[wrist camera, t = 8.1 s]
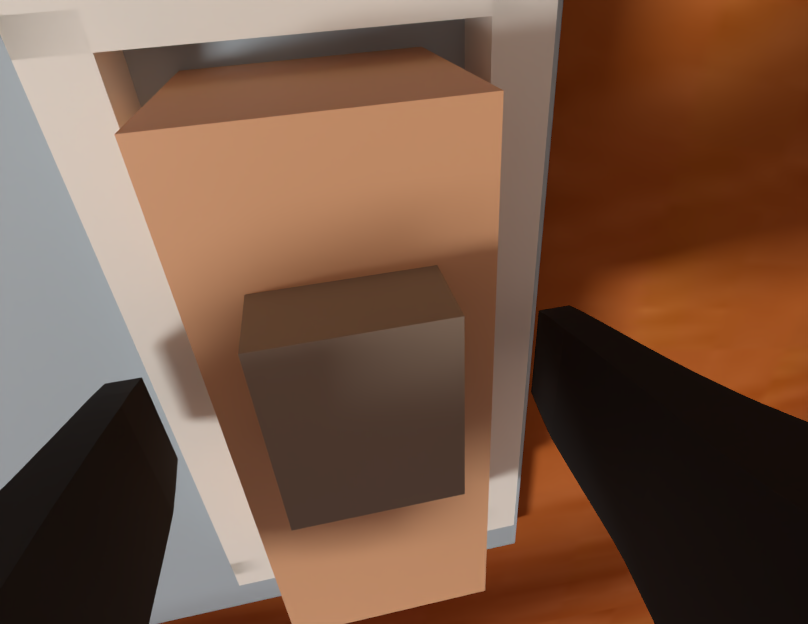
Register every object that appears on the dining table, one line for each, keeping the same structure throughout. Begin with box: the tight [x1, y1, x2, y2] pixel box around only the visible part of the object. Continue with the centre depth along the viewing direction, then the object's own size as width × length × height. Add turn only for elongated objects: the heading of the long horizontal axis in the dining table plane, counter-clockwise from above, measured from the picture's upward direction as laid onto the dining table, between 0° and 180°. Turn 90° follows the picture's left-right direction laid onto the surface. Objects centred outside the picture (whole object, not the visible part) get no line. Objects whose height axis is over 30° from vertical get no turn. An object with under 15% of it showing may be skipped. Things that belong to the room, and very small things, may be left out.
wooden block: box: [114, 47, 504, 624], centre depth 9 cm, size 10×4×5 cm, turn 4°
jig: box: [0, 0, 563, 624], centre depth 11 cm, size 18×19×2 cm
